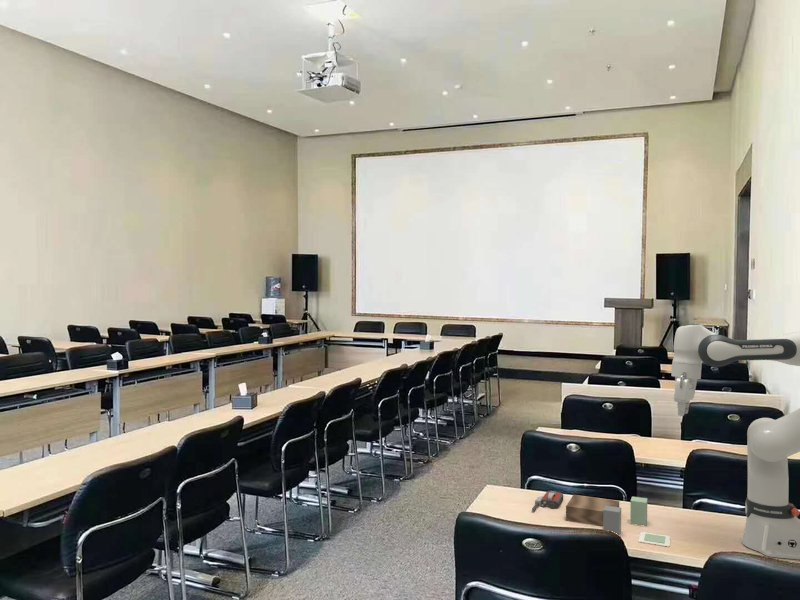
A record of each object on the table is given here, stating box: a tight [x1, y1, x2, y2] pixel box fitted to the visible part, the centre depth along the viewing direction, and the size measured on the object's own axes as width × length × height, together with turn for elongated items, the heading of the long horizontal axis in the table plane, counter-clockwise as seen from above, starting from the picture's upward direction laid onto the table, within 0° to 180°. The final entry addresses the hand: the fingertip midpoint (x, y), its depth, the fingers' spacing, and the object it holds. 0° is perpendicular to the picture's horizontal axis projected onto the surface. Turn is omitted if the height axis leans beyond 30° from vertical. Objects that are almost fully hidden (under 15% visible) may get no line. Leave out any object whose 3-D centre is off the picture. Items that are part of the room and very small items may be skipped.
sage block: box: [629, 496, 648, 527], centre depth 217 cm, size 5×5×8 cm
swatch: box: [638, 531, 672, 548], centre depth 202 cm, size 9×9×1 cm
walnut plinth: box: [565, 494, 620, 527], centre depth 221 cm, size 16×14×5 cm
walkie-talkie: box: [531, 490, 564, 511], centre depth 234 cm, size 9×4×20 cm
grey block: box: [602, 506, 622, 536], centre depth 207 cm, size 5×5×8 cm
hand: (682, 414), depth 207 cm, fingers open, 8 cm apart
